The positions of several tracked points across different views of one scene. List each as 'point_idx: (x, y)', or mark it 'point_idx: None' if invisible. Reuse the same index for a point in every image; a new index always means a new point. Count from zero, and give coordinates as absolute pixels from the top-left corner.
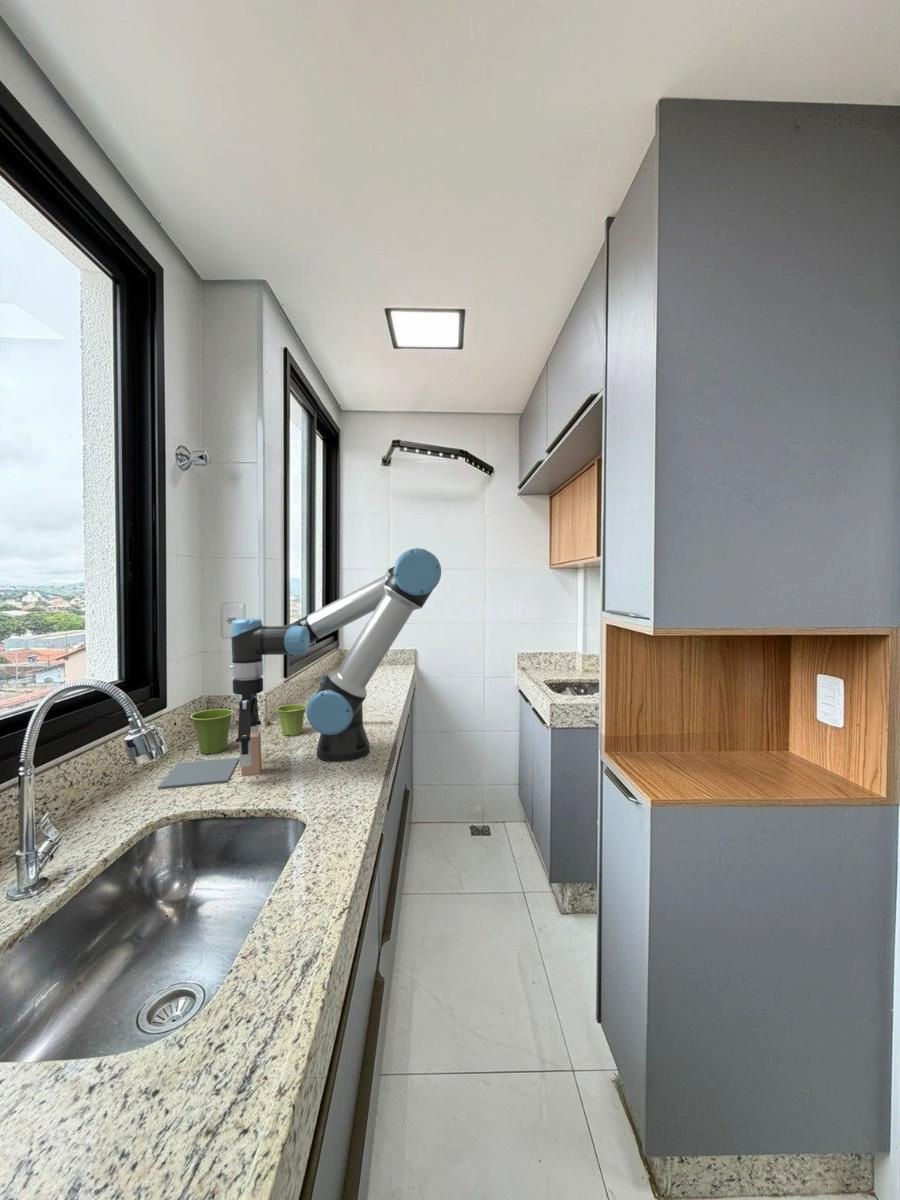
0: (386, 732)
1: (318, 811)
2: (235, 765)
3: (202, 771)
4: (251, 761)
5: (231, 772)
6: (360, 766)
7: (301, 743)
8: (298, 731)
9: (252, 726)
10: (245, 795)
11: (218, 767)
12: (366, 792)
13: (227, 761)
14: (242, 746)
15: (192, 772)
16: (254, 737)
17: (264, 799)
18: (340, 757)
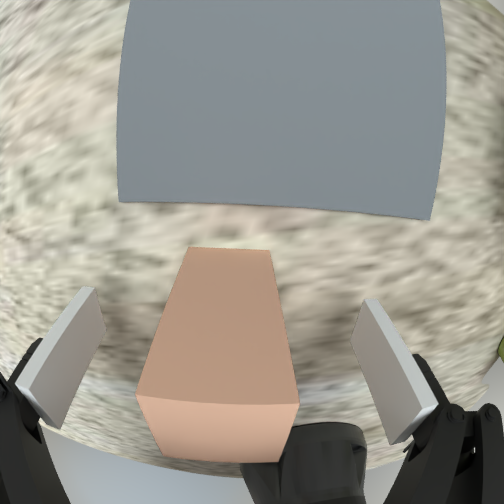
0: (384, 464)
1: (6, 379)
2: (339, 209)
3: (293, 57)
4: (98, 341)
5: (224, 202)
6: (201, 462)
7: (443, 374)
8: (501, 356)
9: (408, 427)
10: (24, 276)
11: (330, 129)
12: (78, 438)
13: (403, 170)
14: (17, 373)
15: (293, 16)
16: (159, 444)
17: (15, 317)
18: None
